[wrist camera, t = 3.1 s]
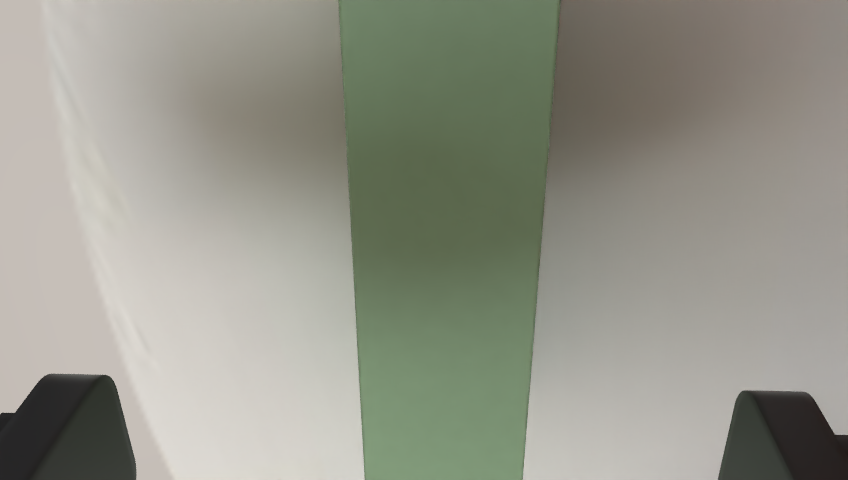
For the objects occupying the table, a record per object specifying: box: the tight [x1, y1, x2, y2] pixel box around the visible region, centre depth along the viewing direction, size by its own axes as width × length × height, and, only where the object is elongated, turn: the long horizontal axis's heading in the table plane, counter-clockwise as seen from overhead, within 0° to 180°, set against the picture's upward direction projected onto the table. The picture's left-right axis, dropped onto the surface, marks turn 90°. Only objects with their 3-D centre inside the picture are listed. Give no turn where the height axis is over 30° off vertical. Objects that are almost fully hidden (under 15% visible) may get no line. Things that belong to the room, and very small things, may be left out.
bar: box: [338, 0, 561, 480], centre depth 16 cm, size 14×4×4 cm, turn 0°
